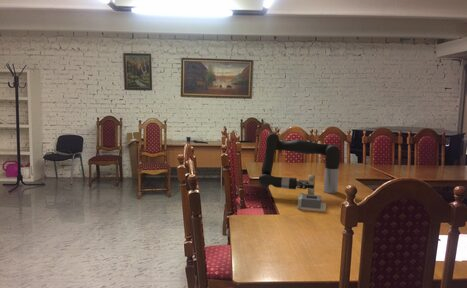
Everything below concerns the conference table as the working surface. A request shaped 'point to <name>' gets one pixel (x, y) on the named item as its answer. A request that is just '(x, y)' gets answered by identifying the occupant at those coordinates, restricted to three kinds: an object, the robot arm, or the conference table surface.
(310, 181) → the dowel
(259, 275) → the conference table surface
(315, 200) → the dowel dock
